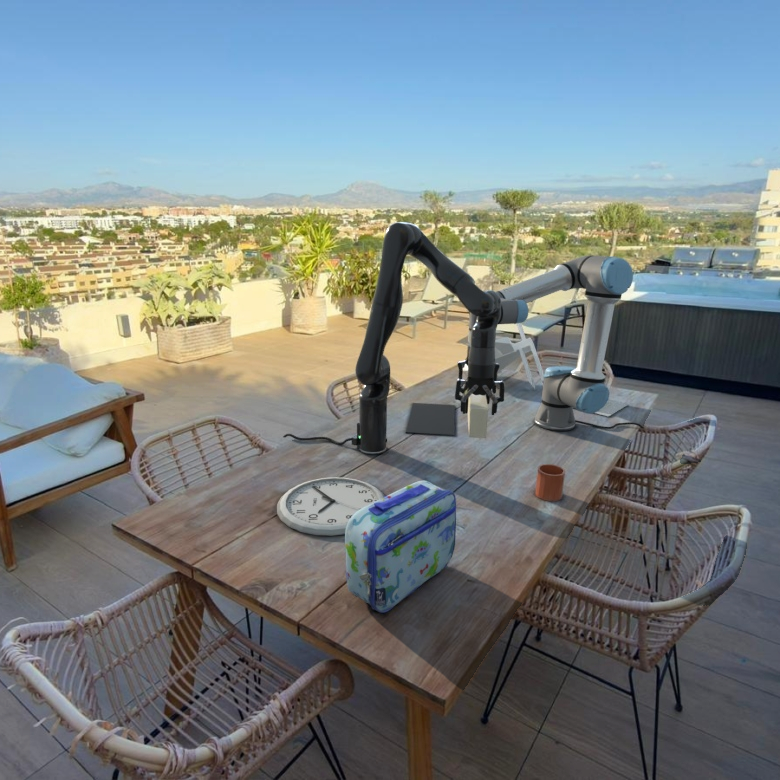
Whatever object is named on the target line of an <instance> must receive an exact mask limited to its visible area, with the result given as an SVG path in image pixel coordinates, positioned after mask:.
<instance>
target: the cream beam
mask: <svg viewBox="0 0 780 780" xmlns="http://www.w3.org/2000/svg"><path fill="white" fill-rule="evenodd" d="M488 419H489V404H487V399H486V395H474V394H471V395H470V397H469V398H468V414H467V428H468V438H477V439H487V435H488V434H487V432H488Z"/></svg>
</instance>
